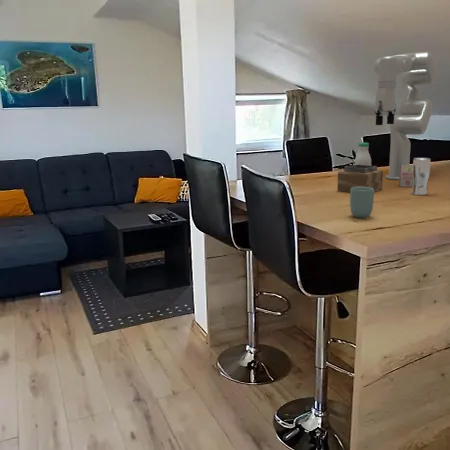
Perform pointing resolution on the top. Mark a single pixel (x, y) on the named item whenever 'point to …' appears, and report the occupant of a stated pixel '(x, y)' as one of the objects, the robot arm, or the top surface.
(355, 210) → the cup
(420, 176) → the beer glass
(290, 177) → the top surface
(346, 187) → the housing
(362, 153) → the milk bottle
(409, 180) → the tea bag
